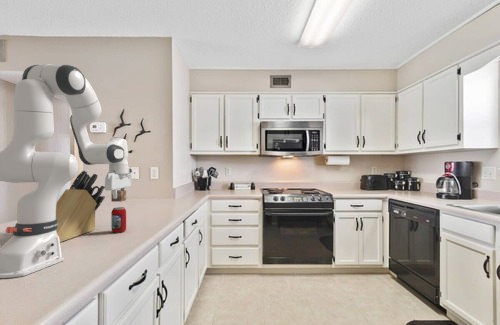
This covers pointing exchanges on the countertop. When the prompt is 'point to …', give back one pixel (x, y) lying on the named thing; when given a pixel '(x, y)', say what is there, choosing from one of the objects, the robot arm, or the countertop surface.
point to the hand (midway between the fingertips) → (118, 197)
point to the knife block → (78, 207)
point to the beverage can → (118, 219)
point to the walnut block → (119, 196)
